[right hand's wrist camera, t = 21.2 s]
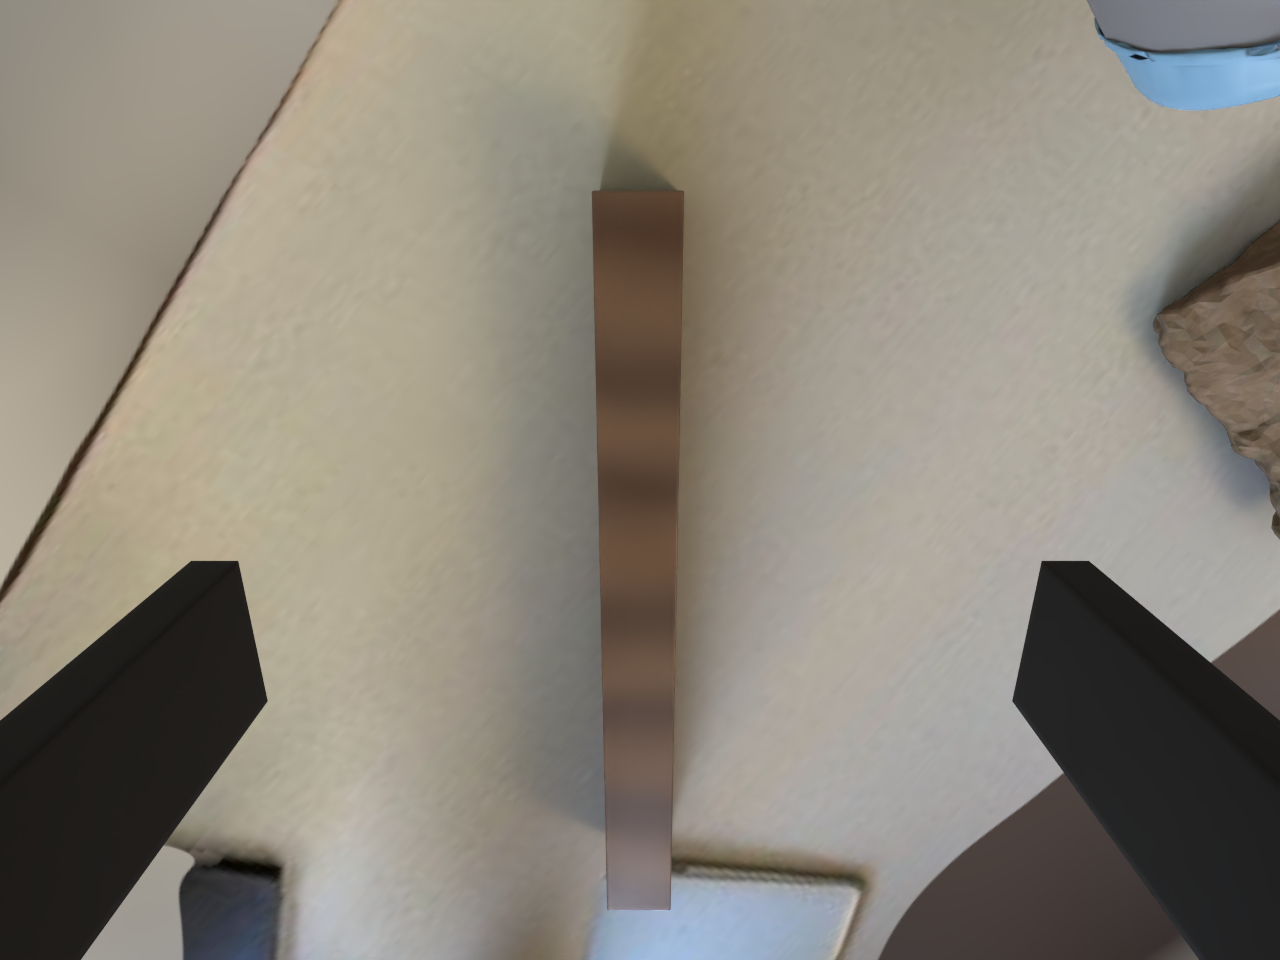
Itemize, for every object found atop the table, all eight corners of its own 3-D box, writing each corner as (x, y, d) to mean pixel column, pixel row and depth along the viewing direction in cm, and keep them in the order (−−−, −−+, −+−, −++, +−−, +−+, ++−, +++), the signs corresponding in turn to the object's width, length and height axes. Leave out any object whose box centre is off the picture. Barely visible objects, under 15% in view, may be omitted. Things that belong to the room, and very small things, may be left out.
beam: (598, 190, 48) (591, 190, 41) (677, 190, 48) (684, 190, 41) (610, 836, 68) (607, 910, 61) (667, 836, 67) (670, 910, 61)
